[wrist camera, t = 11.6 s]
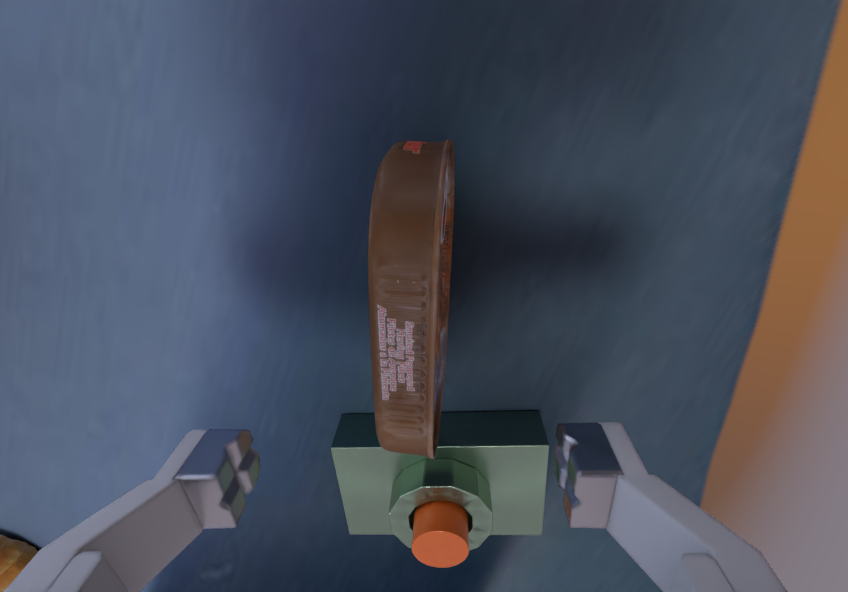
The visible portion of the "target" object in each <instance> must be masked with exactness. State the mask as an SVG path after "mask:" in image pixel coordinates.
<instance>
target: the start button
mask: <svg viewBox="0 0 848 592" xmlns="http://www.w3.org/2000/svg"><path fill="white" fill-rule="evenodd" d="M412 552H413V554H414V556H415V557H416V558H417V559H418V560H419V561H420V562H422V563H424V564H426V565H429V566H433V567H440V568H444V567H452V566H455V565H458V564H460V563H461V562H463V561H464V560H465V559H466V558H467V556H468V553H469V536H468V517H467V513H466V511H465V509H464V508H463V507H462V506H461V505H458V504H456V503H453V502H450V501H429V502H426V503H424V504H422V505H419V506H418V508H417V509H416V511H415V513H414V523H413V536H412Z"/></svg>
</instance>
